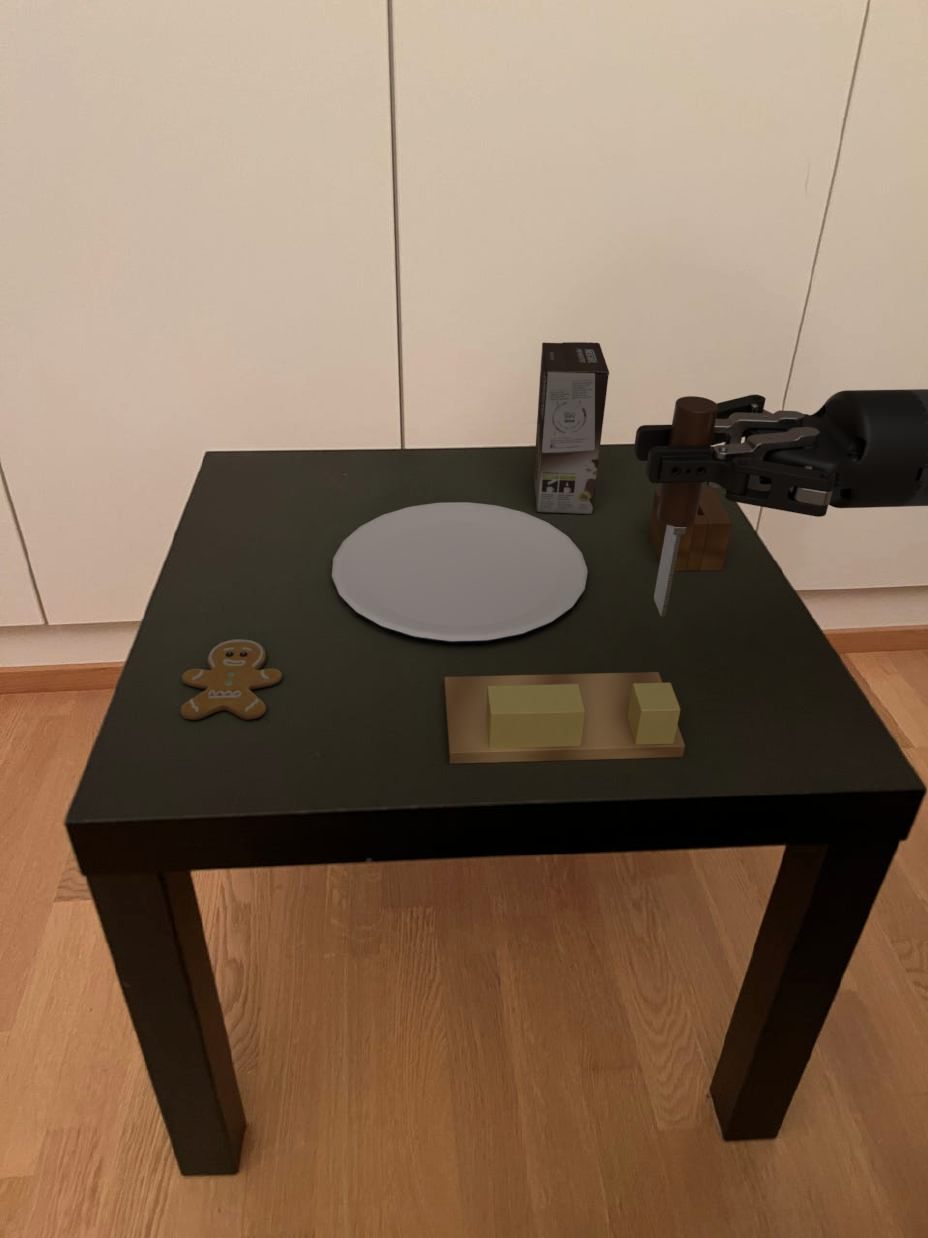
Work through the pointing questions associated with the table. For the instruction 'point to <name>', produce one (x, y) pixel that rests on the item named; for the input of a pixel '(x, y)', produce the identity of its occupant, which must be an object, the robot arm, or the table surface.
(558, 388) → the coffee box
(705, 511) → the knife block
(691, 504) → the knife
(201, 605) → the table surface
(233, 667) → the cookie
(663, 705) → the butter slice
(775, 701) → the table surface
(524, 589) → the plate
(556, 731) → the butter
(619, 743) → the cutting board
